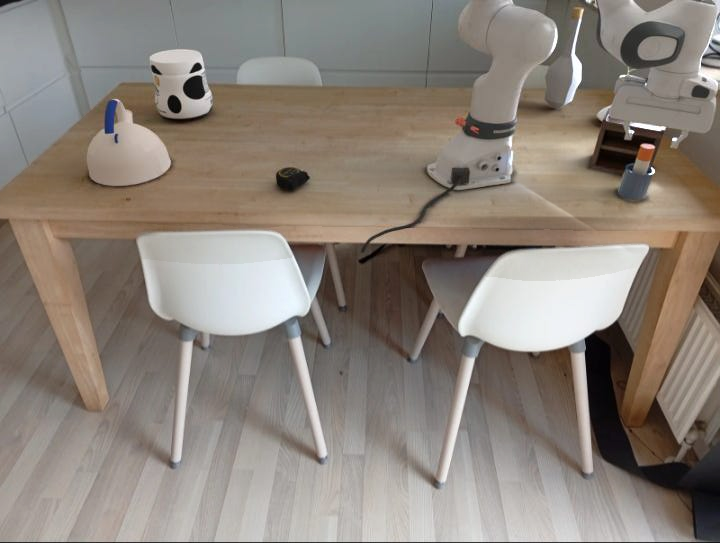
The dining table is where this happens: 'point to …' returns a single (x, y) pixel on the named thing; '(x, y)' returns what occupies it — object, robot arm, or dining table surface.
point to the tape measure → (291, 178)
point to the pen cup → (635, 183)
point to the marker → (643, 158)
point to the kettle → (125, 151)
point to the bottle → (565, 68)
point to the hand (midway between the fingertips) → (650, 143)
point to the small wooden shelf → (623, 143)
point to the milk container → (180, 84)
